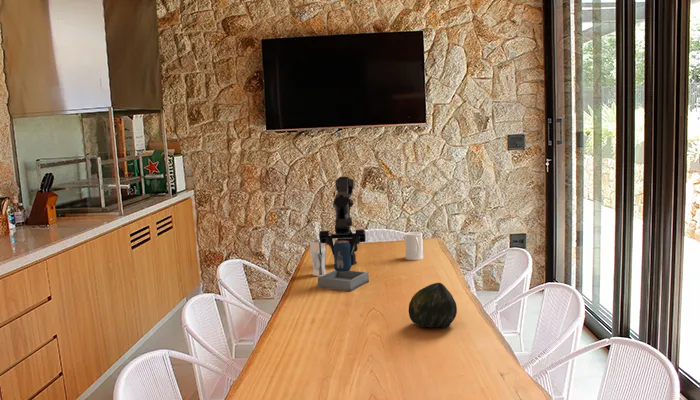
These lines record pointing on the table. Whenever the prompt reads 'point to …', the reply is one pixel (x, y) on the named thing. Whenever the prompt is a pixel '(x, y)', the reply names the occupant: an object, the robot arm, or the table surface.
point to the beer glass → (318, 257)
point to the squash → (433, 307)
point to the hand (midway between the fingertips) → (342, 254)
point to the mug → (414, 245)
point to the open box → (343, 280)
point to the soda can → (342, 256)
